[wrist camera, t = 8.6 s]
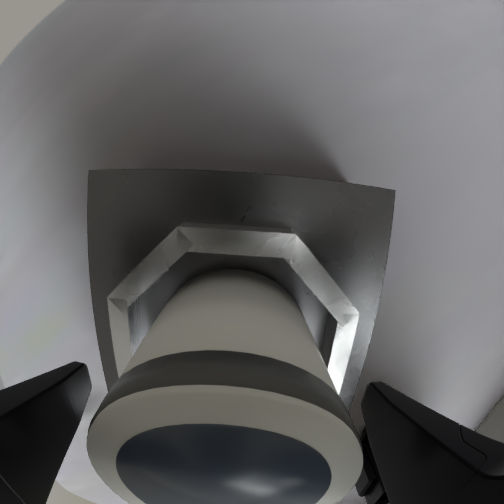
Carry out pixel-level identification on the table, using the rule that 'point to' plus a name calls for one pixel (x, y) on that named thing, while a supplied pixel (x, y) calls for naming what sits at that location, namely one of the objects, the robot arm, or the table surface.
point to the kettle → (494, 423)
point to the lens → (226, 405)
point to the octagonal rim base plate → (237, 252)
